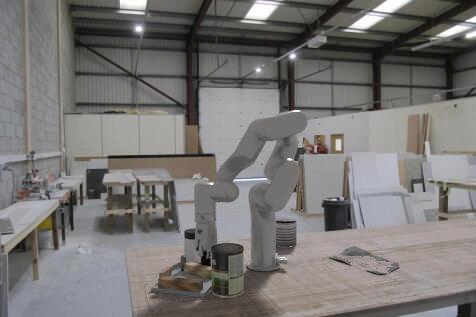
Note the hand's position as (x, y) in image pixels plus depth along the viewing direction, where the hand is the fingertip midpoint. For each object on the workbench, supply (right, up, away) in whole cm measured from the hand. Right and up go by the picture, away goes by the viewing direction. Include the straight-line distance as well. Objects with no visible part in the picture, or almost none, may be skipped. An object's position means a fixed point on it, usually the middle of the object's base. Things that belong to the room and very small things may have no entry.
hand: (206, 268), depth 128 cm
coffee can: (+8, -3, -14) cm, 17 cm away
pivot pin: (-8, -1, +2) cm, 9 cm away
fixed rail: (-7, -2, -15) cm, 16 cm away
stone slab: (+61, -2, +13) cm, 62 cm away
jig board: (-5, -3, -6) cm, 8 cm away
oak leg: (-2, -1, -3) cm, 3 cm away
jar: (-6, -2, +17) cm, 18 cm away
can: (+33, -1, +39) cm, 51 cm away
